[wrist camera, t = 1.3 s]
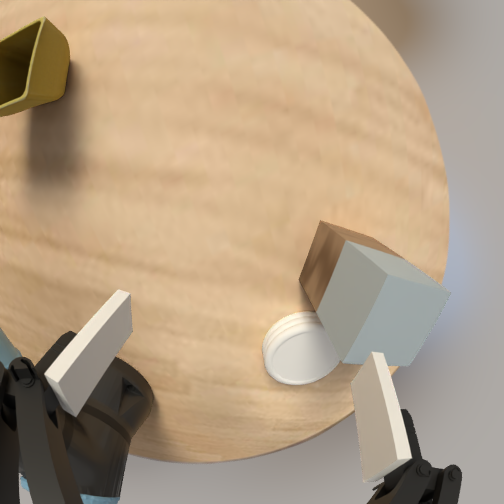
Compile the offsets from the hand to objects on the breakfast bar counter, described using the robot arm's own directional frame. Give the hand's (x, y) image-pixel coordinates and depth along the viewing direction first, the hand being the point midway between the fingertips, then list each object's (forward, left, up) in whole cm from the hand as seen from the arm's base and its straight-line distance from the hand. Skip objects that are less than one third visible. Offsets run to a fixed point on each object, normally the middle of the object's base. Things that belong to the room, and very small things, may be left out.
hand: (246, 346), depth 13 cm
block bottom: (+1, -11, -16) cm, 20 cm away
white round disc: (-11, -11, -17) cm, 22 cm away
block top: (+1, -11, -9) cm, 14 cm away
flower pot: (+14, +27, -16) cm, 35 cm away
